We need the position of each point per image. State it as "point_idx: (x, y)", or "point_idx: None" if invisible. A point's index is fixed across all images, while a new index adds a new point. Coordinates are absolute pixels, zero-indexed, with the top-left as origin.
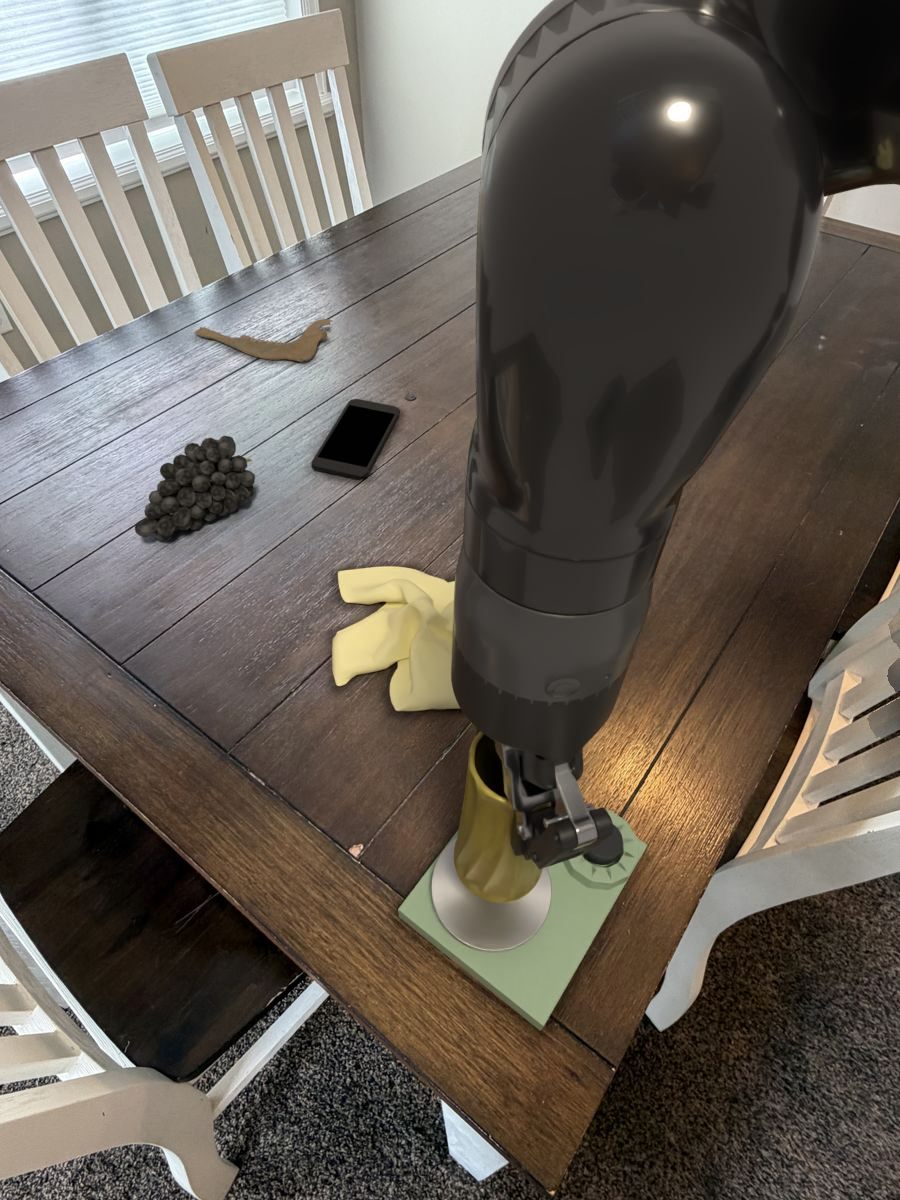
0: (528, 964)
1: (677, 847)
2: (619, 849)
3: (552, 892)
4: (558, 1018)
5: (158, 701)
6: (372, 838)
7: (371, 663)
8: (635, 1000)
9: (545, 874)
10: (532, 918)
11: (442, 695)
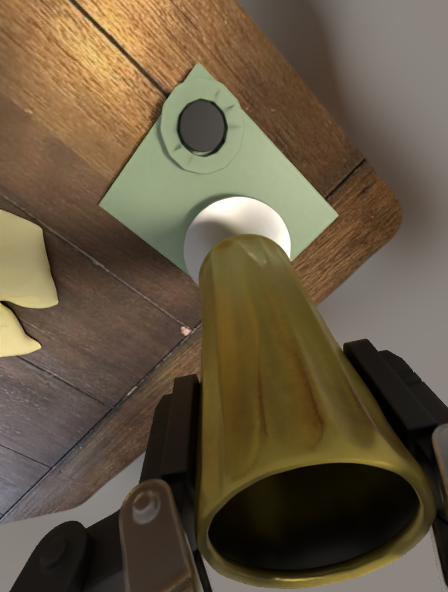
0: (293, 220)
1: (193, 14)
2: (215, 109)
3: (238, 188)
4: (326, 195)
5: (77, 446)
6: (177, 320)
7: (10, 328)
8: (329, 120)
9: (231, 200)
10: (270, 220)
11: (34, 268)
